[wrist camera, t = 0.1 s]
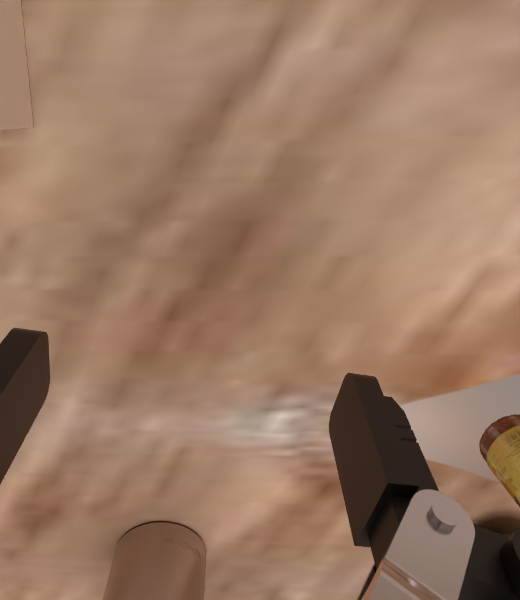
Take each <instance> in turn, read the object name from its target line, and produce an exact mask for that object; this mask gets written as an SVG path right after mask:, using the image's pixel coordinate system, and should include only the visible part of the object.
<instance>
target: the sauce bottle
mask: <svg viewBox="0 0 520 600" xmlns="http://www.w3.org/2000/svg"><path fill="white" fill-rule="evenodd" d="M480 452H481V454H482V456H483V458H484V459H485V460H486V462H487V464H488V466H489V468H490V469H491V471H492V472H493V473H494V474H495V476H496V477H497V478H498V480H499V481H500V482H501V484H502V485H503V486H504V487H505V489H506V490H507V491H508V492H509V494H510V495H511V496H512V498H513V499H514V500H515V501H516V503H517V504H518V505H519V507H520V415H511V416H507V417H503V418H501V419H499V420H497V421H496V422H494V423H492V424H491V425H490V426H489V427H488V428H487V429H486V431H485V432H484V434H483V435H482V437H481V440H480Z"/></svg>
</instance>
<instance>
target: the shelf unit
mask: <svg viewBox="0 0 520 600" xmlns="http://www.w3.org/2000/svg"><path fill="white" fill-rule="evenodd" d="M21 128H34V126H33V116H32V106H31V96H30V86H29V76H28V66H27V56H26V46H25V36H24V26H23V17H22V7H21V0H0V130H8V129H21Z"/></svg>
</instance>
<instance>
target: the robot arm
mask: <svg viewBox="0 0 520 600" xmlns="http://www.w3.org/2000/svg"><path fill="white" fill-rule="evenodd" d="M49 384H50V366H49V343H48V335H47V333H46V332H42V331H34V330H27V329H20V328H13V329H12V330H11V331H10V332H9V333H8V335H7V336H6V337H5V338H4V340H3V341H2V342H1V344H0V484H1V482H2V480H3V478H4V476H5V475H6V473H7V471H8V469H9V467H10V465H11V463H12V461H13V460H14V458H15V456H16V454H17V452H18V450H19V448H20V447H21V445H22V443H23V441H24V439H25V437H26V435H27V433H28V432H29V430H30V428H31V426H32V424H33V422H34V420H35V418H36V417H37V415H38V413H39V411H40V409H41V407H42V405H43V403H44V401H45V399H46V396H47V393H48V389H49ZM329 433H330V438H331V443H332V447H333V452H334V456H335V461H336V465H337V470H338V474H339V479H340V483H341V487H342V492H343V496H344V501H345V505H346V510H347V514H348V519H349V523H350V528H351V532H352V536H353V541H354V545H355V546H363V547H371V550H372V554H373V558H374V564H373V566H372V568H371V570H370V572H369V574H368V576H367V578H366V580H365V582H364V584H363V586H362V588H361V590H360V593H359V595H358V597H357V599H356V600H520V528H518V529H517V530H516V531H515V532H514V533H513V534H512V535H511V537H510V538H508V537H506V536H503V535H501V534H498V533H496V532H493V531H491V530H488V529H486V528H483V527H481V526H478V525H476V524H474V523H473V522H472V520H471V518H470V516H469V515H468V513H467V512H466V511H465V509H464V508H463V507H462V506H461V505H460V504H459V503H458V502H457V501H455V500H454V499H453V498H451V497H450V496H448V495H446V494H444V493H442V492H439V490H438V488H437V485H436V483H435V481H434V479H433V476H432V474H431V472H430V469H429V467H428V465H427V463H426V460H425V458H424V456H423V453H422V451H421V449H420V446H419V444H418V443H416V437H415V435H414V433H413V431H412V430H411V426H410V424H409V421H408V419H407V417H406V414H405V412H404V411H403V410H402V409H401V407H400V406H399V405H398V404H397V403H396V402H395V401H394V399H393V398H392V397H387V396H384V395H383V393H382V390H381V388H380V385H379V383H378V380H377V379H376V377H374V376H367V375H360V374H353V373H348V374H347V375H346V376H345V378H344V380H343V383H342V385H341V388H340V391H339V393H338V396H337V398H336V401H335V404H334V406H333V409H332V411H331V415H330V421H329ZM205 567H206V549H205V545H204V543H203V542H202V540H201V538H200V537H199V536H198V535H197V534H196V533H194V532H193V531H191V530H190V529H188V528H186V527H183V526H181V525H177V524H173V523H163V522H158V523H149V524H145V525H141V526H139V527H136V528H134V529H132V530H131V531H129V532H128V533H126V534H125V535H124V536H123V537H122V538H121V539H120V541H119V543H118V545H117V547H116V551H115V555H114V559H113V563H112V567H111V571H110V574H109V578H108V582H107V586H106V589H105V593H104V597H103V600H204V591H205Z"/></svg>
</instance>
